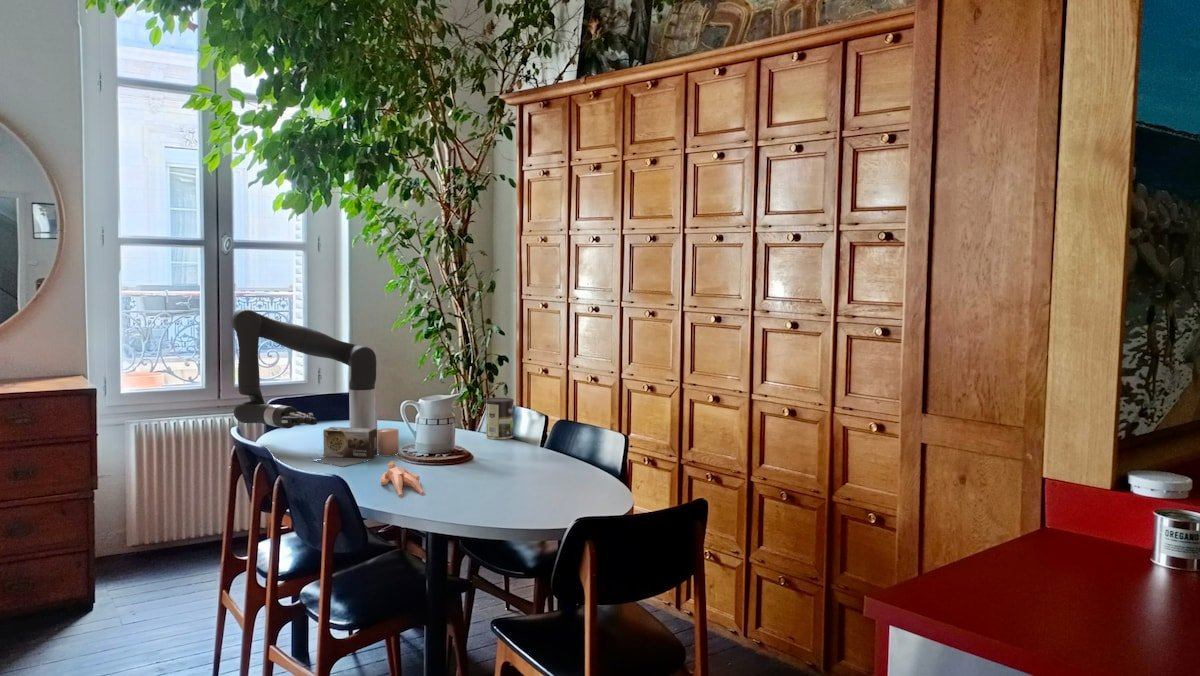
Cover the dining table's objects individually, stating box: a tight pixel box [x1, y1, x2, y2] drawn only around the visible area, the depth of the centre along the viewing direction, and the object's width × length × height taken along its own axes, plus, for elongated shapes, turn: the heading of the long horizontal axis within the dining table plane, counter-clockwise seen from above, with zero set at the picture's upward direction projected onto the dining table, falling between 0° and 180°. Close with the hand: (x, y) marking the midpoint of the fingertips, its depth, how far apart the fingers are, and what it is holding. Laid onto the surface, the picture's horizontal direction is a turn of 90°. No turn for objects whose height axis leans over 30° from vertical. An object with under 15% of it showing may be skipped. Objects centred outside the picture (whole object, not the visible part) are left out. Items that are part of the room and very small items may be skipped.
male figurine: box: [379, 460, 425, 498], centre depth 250 cm, size 11×5×25 cm
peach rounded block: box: [377, 427, 400, 456], centre depth 291 cm, size 7×7×8 cm
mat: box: [317, 456, 372, 468], centre depth 280 cm, size 12×15×1 cm
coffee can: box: [485, 397, 514, 440], centre depth 321 cm, size 10×10×14 cm
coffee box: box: [322, 426, 378, 459], centre depth 285 cm, size 9×6×16 cm
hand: (315, 421), depth 286 cm, fingers closed
